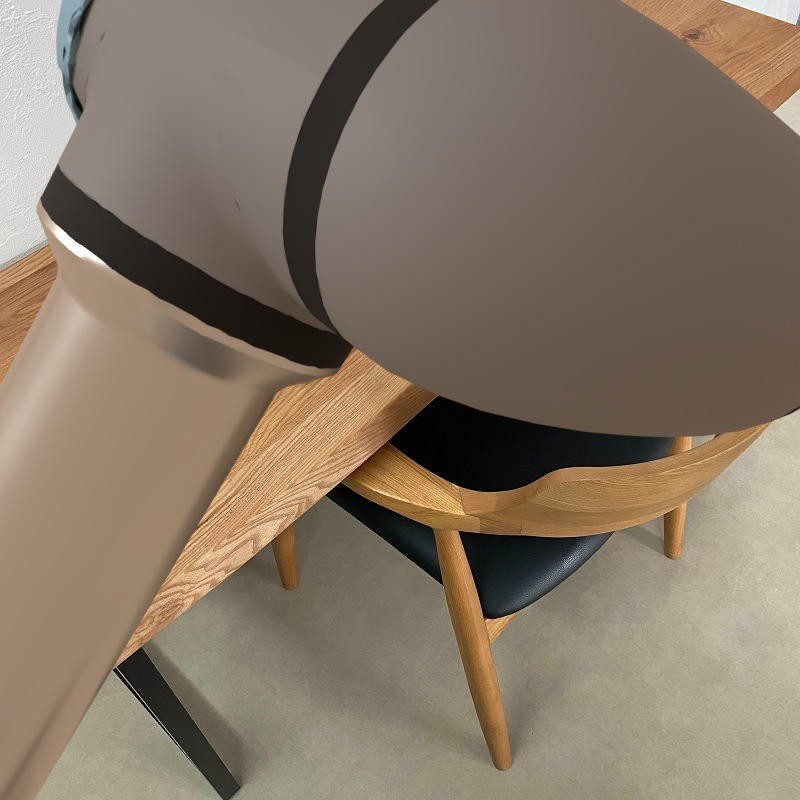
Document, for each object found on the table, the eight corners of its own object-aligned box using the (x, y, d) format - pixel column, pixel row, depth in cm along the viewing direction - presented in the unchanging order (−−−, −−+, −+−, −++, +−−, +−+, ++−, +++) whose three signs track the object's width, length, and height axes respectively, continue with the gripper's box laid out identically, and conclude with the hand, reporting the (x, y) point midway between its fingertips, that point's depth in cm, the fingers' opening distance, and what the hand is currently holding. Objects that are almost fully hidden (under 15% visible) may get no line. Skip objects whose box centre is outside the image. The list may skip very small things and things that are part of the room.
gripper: (508, 430, 64) (277, 363, 70) (589, 240, 78) (391, 198, 84) (512, 368, 58) (260, 301, 64) (599, 175, 72) (385, 135, 78)
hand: (334, 242), depth 74 cm, fingers open, 13 cm apart
